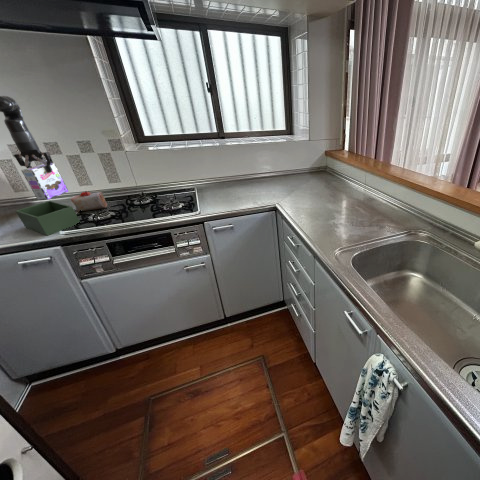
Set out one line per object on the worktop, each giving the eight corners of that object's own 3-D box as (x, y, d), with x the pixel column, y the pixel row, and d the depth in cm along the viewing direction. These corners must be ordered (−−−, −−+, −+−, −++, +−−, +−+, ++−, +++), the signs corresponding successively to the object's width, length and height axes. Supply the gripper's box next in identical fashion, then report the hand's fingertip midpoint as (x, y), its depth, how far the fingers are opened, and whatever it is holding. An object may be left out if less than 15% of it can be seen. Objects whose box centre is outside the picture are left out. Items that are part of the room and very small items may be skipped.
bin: (25, 227, 128) (14, 210, 124) (59, 216, 139) (50, 200, 134) (47, 235, 121) (36, 217, 116) (80, 223, 131) (72, 206, 127)
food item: (75, 213, 142) (66, 196, 137) (79, 208, 148) (71, 191, 143) (106, 209, 147) (98, 192, 142) (108, 204, 153) (101, 187, 148)
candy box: (47, 200, 144) (31, 169, 135) (37, 200, 144) (19, 169, 135) (69, 191, 156) (55, 162, 147) (59, 191, 156) (44, 162, 147)
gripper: (45, 138, 140) (61, 170, 148) (11, 140, 136) (29, 172, 145) (37, 141, 134) (54, 173, 142) (1, 142, 130) (20, 176, 138)
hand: (41, 172), depth 143 cm, fingers closed on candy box, 7 cm apart
